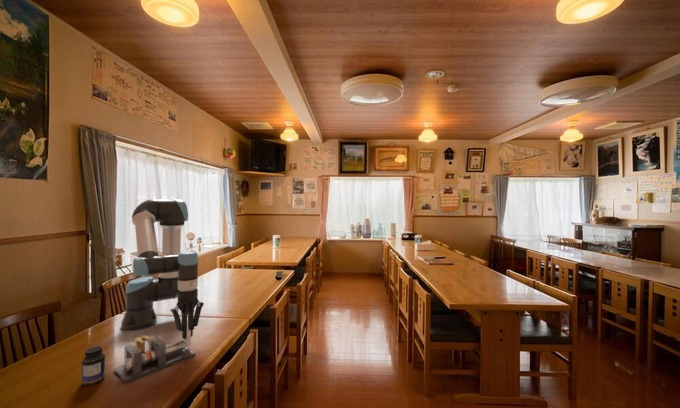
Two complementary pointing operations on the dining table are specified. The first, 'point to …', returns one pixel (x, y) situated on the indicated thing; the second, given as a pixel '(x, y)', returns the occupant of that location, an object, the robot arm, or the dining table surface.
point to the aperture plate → (141, 342)
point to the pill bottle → (93, 366)
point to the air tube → (151, 355)
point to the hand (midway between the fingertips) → (187, 345)
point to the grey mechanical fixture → (158, 364)
